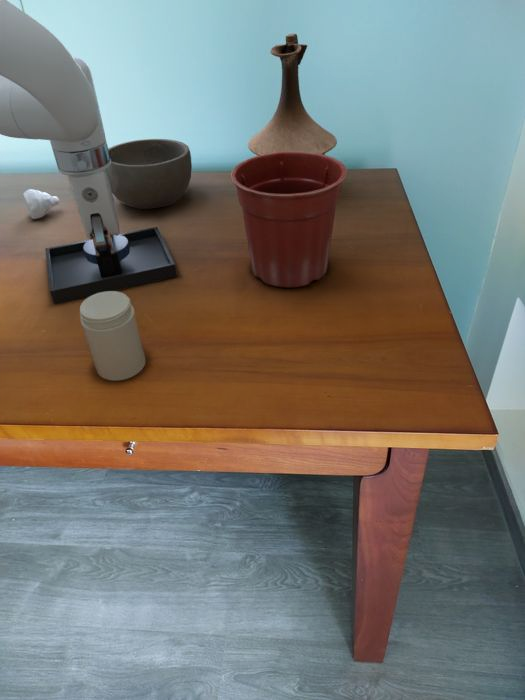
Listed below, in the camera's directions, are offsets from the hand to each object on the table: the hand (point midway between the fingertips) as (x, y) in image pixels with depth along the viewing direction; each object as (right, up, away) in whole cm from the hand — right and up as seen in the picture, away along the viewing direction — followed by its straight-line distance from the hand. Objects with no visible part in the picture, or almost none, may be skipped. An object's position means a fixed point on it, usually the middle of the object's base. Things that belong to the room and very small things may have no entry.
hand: (110, 262), depth 87 cm
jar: (+7, -16, -18) cm, 25 cm away
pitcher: (+31, +18, +21) cm, 42 cm away
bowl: (+3, +16, +21) cm, 27 cm away
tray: (0, -1, +1) cm, 1 cm away
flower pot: (+30, -1, -1) cm, 30 cm away
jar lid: (0, +2, -2) cm, 3 cm away
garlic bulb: (-17, +12, +17) cm, 27 cm away
